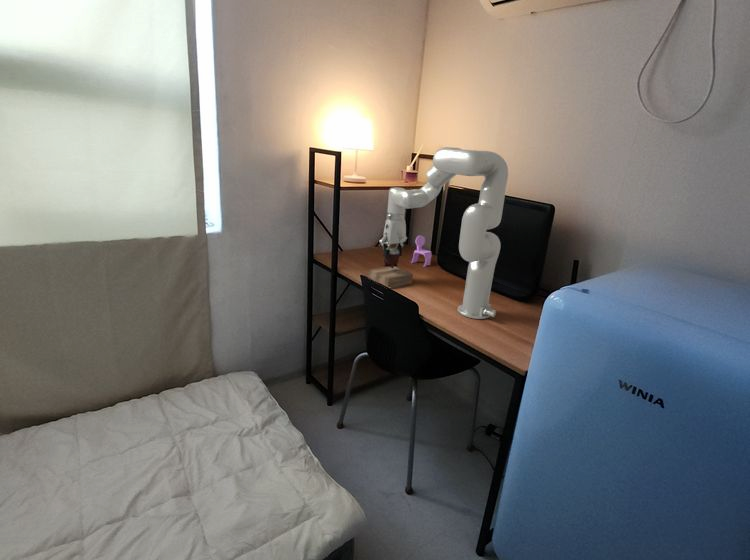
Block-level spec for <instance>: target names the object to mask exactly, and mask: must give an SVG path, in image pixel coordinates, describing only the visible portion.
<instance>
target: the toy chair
mask: <svg viewBox="0 0 750 560" xmlns="http://www.w3.org/2000/svg"><path fill="white" fill-rule="evenodd" d="M414 242H415V245H416V249H415V250H414V252H413V255H412V256H413V257H412V260H411V262H410V264H414V263H417V261H418V262H419V256H420V255H423V256H424V259H425V262H424V264H423V266H422V267H423V268H425V267H428V266H430V265H431V260H432V254H433V253H432V251H431V250H428V249H424V248H422V247H423V246H424V245H425V242H426V238H425V237H424V236H423V235H421V234H420V235H417V237H416V238H415V241H414ZM427 265H428V266H427Z"/></svg>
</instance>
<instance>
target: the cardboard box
mask: <svg viewBox="0 0 750 560" xmlns="http://www.w3.org/2000/svg"><path fill="white" fill-rule="evenodd" d="M393 267H394V268H391V267H385V266H382V267H378V268H371V269H368V271H369V272H368V278H369V277H370V278H372V279H374V280H376V281H378V282H380V283H382V284H384V285H386V286H388V287H391V288H390V289H392V288H393V289H394V288H399V287H402V286H408V285H412V284H413V274H412V273H410V272H408V271H406V270H403V269H402V268H400V267H398V266H393Z"/></svg>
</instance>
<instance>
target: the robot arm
mask: <svg viewBox="0 0 750 560" xmlns="http://www.w3.org/2000/svg"><path fill="white" fill-rule="evenodd" d="M432 164H433V165H431V166H430V167H429V168H428V169H427V170H426V174H425V176H426V180H427V182H426V183H425V184H423V186H421V187H420V188H419V189H418V188H416V189H415V188H413V189H405V188H403V187H396V186H395V187H390V188H389V191H388V199H387V202H388V203H387V213H386V219H385V223H384V224H385V225H384V229H383V234H382V235H383V236H382V237H381V239H379V243H380V245H381V247H382V249H383V255H382V257H383V258H384V257H385V258H389V254H390V250H389V248H391V245H397V243H399V244H398V246H397V248H396V249H398V250H399V254H400V257H401V256H402V253H403V247H404V245H405V243H406V241H407V239H408V237H407V234H406V233H407V224H406V223H407V222H406V220H405V215H406V214H405V213H406V209H407V210H408V209H415V208H423V207H426V206H427V205H428V204H429V203H431V202H432V201H433V200H435V199H436V198H437V197H438V196H439V194H440V192H441V190H442V187H444V186H445V185H446V184H447V183H448V182H449V181H451V179H453V178H454V177H456V175H459V176H465V177H483V178H484V179H483V182H482V184H481V186H480V190H479V191H480V192H479V199H478V203H474V204H471V205H469V206H468V207H467V208H466V209H465V211H464V212H463V216H462V218H461V226H460V233H459V240H458V241H459V243H458V251H459V254H460V257H461V258H462V259H463V260H464V261H465V262H468V266H467V273H466V279H465V286H464V290H463V299H462V304H460V305H458V306H457V312H458V313H459V314H460V315H462V316H463V317H466V318H470V319H474V320H485V319H488V318H490V317H492V318H496V314H497V310H495V309H492V308H491V307H492V305H491V303H489V301H490V296H491V290H492V284H493V279H494V273H495V268H496V265H497V261H498V258H499V255H500V252H501V251H500V250H501V241H500V238H499V236H498V235H496V234H495V233H493V232H491V231H488V230H492V229H495V228H496V227H498V226H499V225H500V223H501V222H502V221H501V220H502V217H503V209H504V205H505V204H504V203H505V196H506V189H507V184H508V178H509V167H508V164H507V161H506V160H505V159H504V158H503V157H502V156H501V155H499V154H498V153H496V152H493V151H489V150H475V149H474V150H471V149H462V148H459V147H449V146H447V147H446V146H445V147H441V148H439V149H438V150H436V152H435V153H434V155H433V157H432ZM404 236H405V237H404ZM401 237H404V238H402V239H401V240H400V238H401ZM399 240H400V242H399Z"/></svg>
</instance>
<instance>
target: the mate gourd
mask: <svg viewBox="0 0 750 560" xmlns="http://www.w3.org/2000/svg"><path fill="white" fill-rule="evenodd" d="M404 237H405V236H404ZM404 237H401V238H400V240H401V239H402V238H404ZM400 240H399V242H400ZM398 244H399V243H397V244H395V247H389V250H390V254H389V258H385V257H383V262H384V263H383V264H384V265H383V267H391V268H394V267H393V266H395V267H398V263H399V260H400V257H401V256H400V254H399V250H398V249H396V248H397V246H398Z"/></svg>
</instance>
